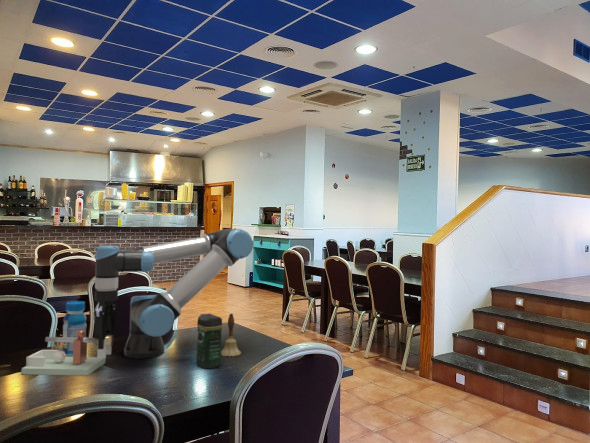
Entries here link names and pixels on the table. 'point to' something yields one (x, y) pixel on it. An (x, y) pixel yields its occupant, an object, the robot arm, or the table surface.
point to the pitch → (59, 365)
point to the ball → (59, 356)
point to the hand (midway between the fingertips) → (104, 355)
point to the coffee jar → (209, 341)
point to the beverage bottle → (73, 323)
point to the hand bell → (230, 341)
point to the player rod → (80, 344)
